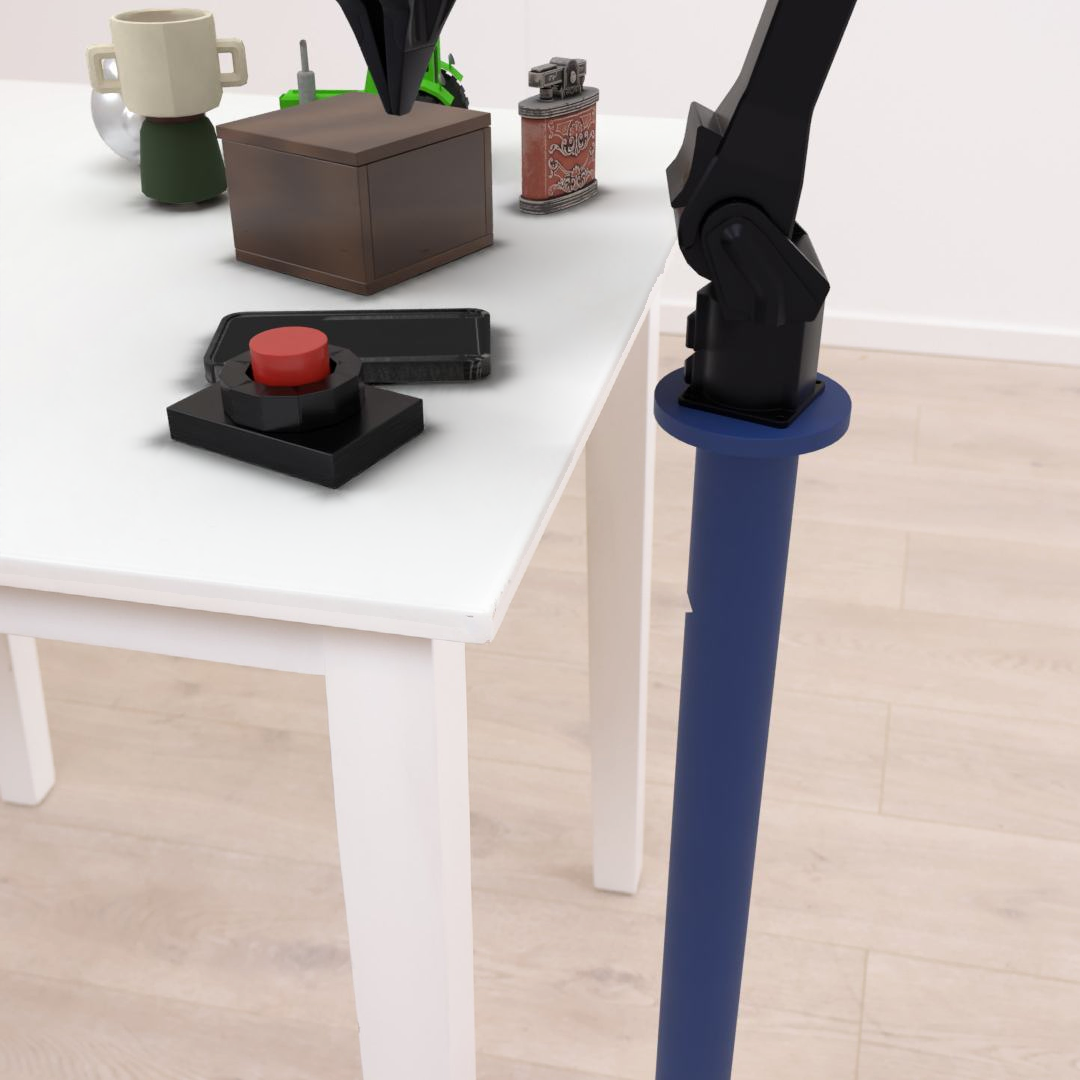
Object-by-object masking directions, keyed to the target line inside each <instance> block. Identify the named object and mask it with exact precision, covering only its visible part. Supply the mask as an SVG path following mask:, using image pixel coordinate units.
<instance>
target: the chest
mask: <svg viewBox="0 0 1080 1080" xmlns="http://www.w3.org/2000/svg"><path fill="white" fill-rule="evenodd" d="M221 148H222V157H223V162H224V166H225V172H226V180H227V196H228V203H229V211H230V217H231V218H230V219H231V221H230V222H231V227H232V236H233V244H234V252H235V259H236V261H239V262H243V263H246V264H250V265H254V266H256V267H260V268H264V269H268V270H272V271H275V272H279V273H283V274H286V275H289V276H293V277H297V278H300V279H303V280H306V281H307V280H308V281H311V282H315V283H319V284H322V285H326V286H329V287H334V288H337V289H341V290H344V291H347V292H351V293H355V294H359V295H361V296H367V297H368V296H370V295H373V294H376V293H377V292H379V291H382V290H384V289H386V288H389V287H391V286H394V285H397V284H399V283H402V282H404V281H407V280H409V279H411V278H413V277H416V276H418V275H420V274H423V273H425V272H428V271H430V270H433V269H435V268H438V267H440V266H443V265H445V264H448V263H450V262H452V261H454V260H457V259H459V258H462V257H465V256H467V255H470V254H472V253H474V252H476V251H479V250H482V249H484V248H487V247H489V246H492V245H494V204H493V159H492V158H493V157H492V155H493V154H492V127H491V125H490V126H487V127H484V128H480V129H477V130H474V131H471V132H467V133H464V134H461V135H458V136H455V137H451V138H448V139H445V140H442V141H438V142H435V143H432V144H429V145H425V146H422V147H419V148H416V149H412V150H409V151H406V152H403V153H400V154H396V155H393V156H390V157H387V158H383V159H380V160H377V161H374V162H370V163H367V164H364V165H361V166H352V165H347V164H342V163H337V162H332V161H327V160H322V159H318V158H313V157H308V156H303V155H298V154H293V153H288V152H283V151H278V150H273V149H268V148H263V147H258V146H253V145H248V144H243V143H238V142H233V141H228V140H223V139H221Z"/></svg>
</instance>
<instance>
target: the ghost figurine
mask: <svg viewBox="0 0 1080 1080" xmlns="http://www.w3.org/2000/svg"><path fill="white" fill-rule="evenodd" d="M102 68H103V74H104V78H105V79H118V75H117V68H116V62H115V58H110V59H103V62H102ZM90 112H91V118H92V121H93V124H94V127H95V129H96V131H97V133H98V135H99V137H100V138H101V140H102V142H103V143H104V144H105V145H106V146H107V147H108V148H109V150H111V151H112V152H113V153H114V154H115V155H117V156H118V157H120V158H121V159H124V161H127V162H129V163H131V164H134V165H137V166H140V129H141V126H142V123H143V121H144V120H145V119H146V117H145V116H142V115H139V114H135V113H132V112H129V110H128V109H127V107H126V105H125V104H124V102H123V100H122V98H121V93H110V94H100V93H96V92H94V90H93V88H92V90H91V95H90ZM205 116H207V112H205Z"/></svg>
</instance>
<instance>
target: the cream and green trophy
mask: <svg viewBox="0 0 1080 1080" xmlns="http://www.w3.org/2000/svg"><path fill="white" fill-rule="evenodd" d="M108 21H109V22H108V23H109V30H110V37H111V42H112V43H99V44H92V45H89V46H87V47H86V49H85V58H86V64H87V70H88V77H89V82H90V87H91V88H92V89H93V90H94V92H96V93H100V94H110V93H121V98H122V100H123V102H124V104H125V105H126V107H127V109H128V110H129V112H132V113H135V114H139V115H142V116H145V117H146V119H145V120H144V121H143V123H142V126H141V129H140V165H139V168H140V169H139V171H140V186H141V192H142V194H143V195H144V196H145V197H146V198H150V199H152V200H154V201H158V202H162V203H169V204H176V205H181V204H182V205H183V204H194V203H199V202H203V201H207V200H209V199H213V198H216V197H217V196H219V195H221V194H222V193H224V192H226V191H227V190H228V188H227V180H226V172H225V164H224V157H223V153H222V150H221V148H220V144H219V140H218V139H219V138H217V134H216V127H215V126H214V124H213V122H212V121H211V120H210V118H209V117H208V116H207V115H206V116H205V112H206V113H208V112H210V111H212V110H214V109H216V108H219V106H220V105H221V101H222V98H223V93H224V91H223V90H224V89H223V88H237V87H242V86H245V85H247V84H248V79H249V73H248V72H249V71H248V63H247V56H246V55H247V54H246V47H245V44H244V42H243V40H242V39H240V38H236V37H229V38H217V32H216V24H215V17H214V13H212V12H211V11H209V10H206V9H200V8H190V7H152V8H150V7H149V8H140V9H135V10H128V11H127V10H126V11H123V12H119V13H114V14H113V15H111V16H110V17H109V18H108ZM219 54H231V59H232V60H231V61H232V68H233V72H223V73H221V66H220V56H219ZM110 58H115V62H116V68H117V75H118V79H105V78H104V74H103V61H102V60H104V59H110Z"/></svg>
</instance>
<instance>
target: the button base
mask: <svg viewBox="0 0 1080 1080" xmlns="http://www.w3.org/2000/svg"><path fill="white" fill-rule="evenodd" d="M328 348H329V359H330V370H331V373H330V375H329V376H327V377H325V378H323V379H321V380H320V381H318V382H313V383H308V384H304V385H299V386H269V385H266V384H262V383H258V382H255V381H254V378H253V372H252V364H251V355H250V350H248V351H246V352H244V353H242V354H240V355H238V356H236V357H234V358H232V359H230V360H228V361H226V363H225V365H224V367H223V368H222V370H221V372H220V374H219V381H218V382H216V383H214V384H212V383H211V384H210V385H208V386H206V387H204V388H202V389H200V390H198V391H196V392H194V393H193V394H190V395H189V396H186V397H184V398H182V399H180V400H178V401H176V402H174V403H172V404H171V405H169V406H167V407H166V408H165V410H166V416H167V422H168V430H169V435H170V439H171V440H173V441H176V442H180V443H183V444H187V445H190V446H193V447H196V448H199V449H203V450H206V451H210V452H213V453H216V454H220V455H223V456H225V457H226V456H227V457H230V458H233V459H236V460H238V461H239V460H240V461H243V462H246V463H249V464H252V465H256V466H259V467H262V468H266V469H269V470H273V471H276V472H279V473H283V474H286V475H289V476H293V477H295V478H299V479H303V480H304V481H305V480H306V481H309V482H312V483H315V484H319V485H323V486H325V487H329V488H332V489H336V488H338V487H340V486H341V485H343V484H344V483H346V482H348V481H350V480H351V479H352V478H354V477H355V476H356V475H358V474H360V473H361V472H363V471H364V470H366V469H368V468H369V467H370V466H372V465H373V464H375V463H377V462H378V461H379V460H381V459H382V458H384V457H386V456H387V455H388V454H390V453H392V452H394V451H395V450H396V449H398V448H399V447H401V446H402V445H404V444H405V443H407V442H409V441H410V440H412V439H413V438H415V437H416V436H417V435H419V434H421V433H423V431H425V417H424V416H425V415H424V414H425V413H424V399H423V398H422V397H421V398H420V397H416V396H412V395H408V394H405V393H400V392H397V391H393V390H389V389H385V388H381V387H377V386H373V385H369V384H367V383H364V372H363V361H362V360H361V359H360V358H359V357H357V356H356V355H355V354H354V353H353V352H352V351H351V350H349V349H347V348H342V347H338V346H334V345H330V344H328Z"/></svg>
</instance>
